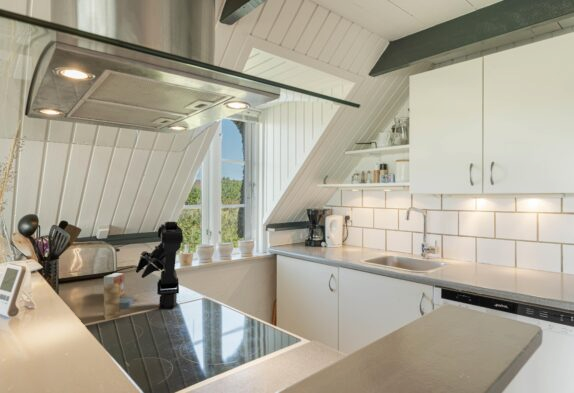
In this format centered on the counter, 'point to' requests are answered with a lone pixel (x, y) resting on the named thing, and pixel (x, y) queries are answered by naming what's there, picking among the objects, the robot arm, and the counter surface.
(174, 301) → the robot arm
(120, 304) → the slate base block
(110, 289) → the oak pillar
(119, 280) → the small box
